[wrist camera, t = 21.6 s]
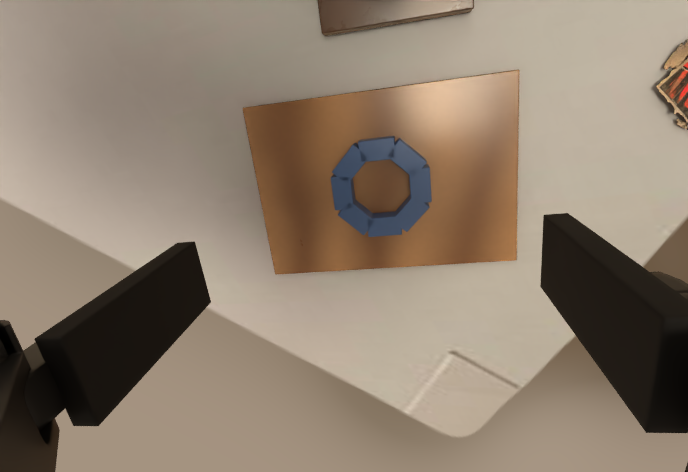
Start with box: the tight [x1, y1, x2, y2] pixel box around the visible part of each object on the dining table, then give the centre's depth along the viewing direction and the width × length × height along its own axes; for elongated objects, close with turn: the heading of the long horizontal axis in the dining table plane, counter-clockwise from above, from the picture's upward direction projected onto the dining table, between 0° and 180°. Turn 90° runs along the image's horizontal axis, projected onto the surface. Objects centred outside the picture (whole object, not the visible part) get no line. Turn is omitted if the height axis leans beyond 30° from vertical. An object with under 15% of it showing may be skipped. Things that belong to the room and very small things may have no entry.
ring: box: [331, 136, 432, 237], centre depth 30 cm, size 7×7×2 cm
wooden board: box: [243, 70, 519, 274], centre depth 30 cm, size 20×14×1 cm
